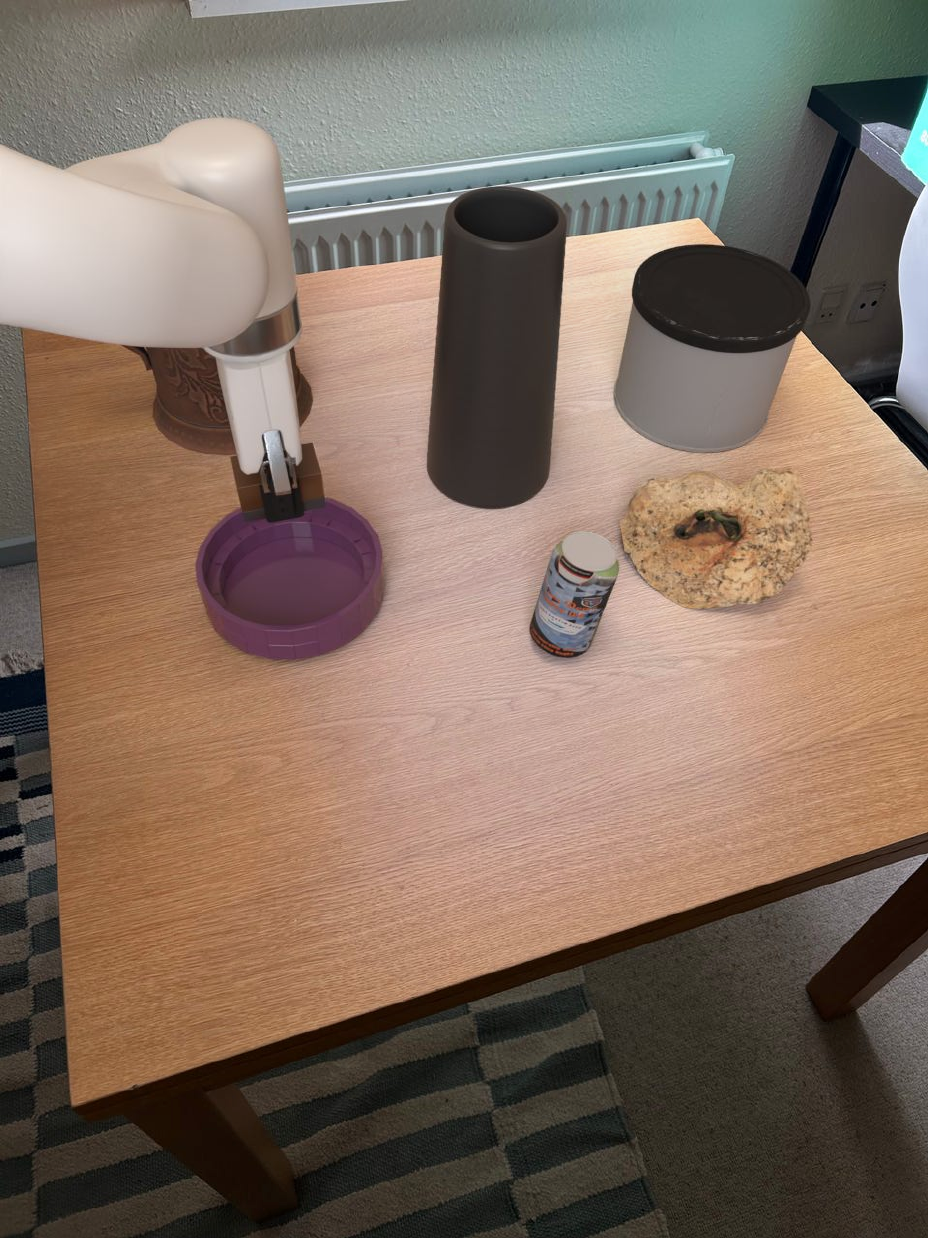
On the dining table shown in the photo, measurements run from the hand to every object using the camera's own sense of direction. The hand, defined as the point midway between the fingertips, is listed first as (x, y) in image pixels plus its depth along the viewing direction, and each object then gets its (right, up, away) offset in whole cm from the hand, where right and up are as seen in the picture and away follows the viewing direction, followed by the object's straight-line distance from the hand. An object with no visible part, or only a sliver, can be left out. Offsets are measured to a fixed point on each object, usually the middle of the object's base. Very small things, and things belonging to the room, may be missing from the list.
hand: (280, 496), depth 79 cm
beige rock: (+41, -5, +15) cm, 43 cm away
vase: (+19, +6, +23) cm, 30 cm away
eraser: (0, 0, 0) cm, 0 cm away
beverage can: (+26, -12, +8) cm, 30 cm away
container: (+43, +15, +31) cm, 55 cm away
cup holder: (-14, +14, +27) cm, 34 cm away
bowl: (-1, -8, +10) cm, 13 cm away
